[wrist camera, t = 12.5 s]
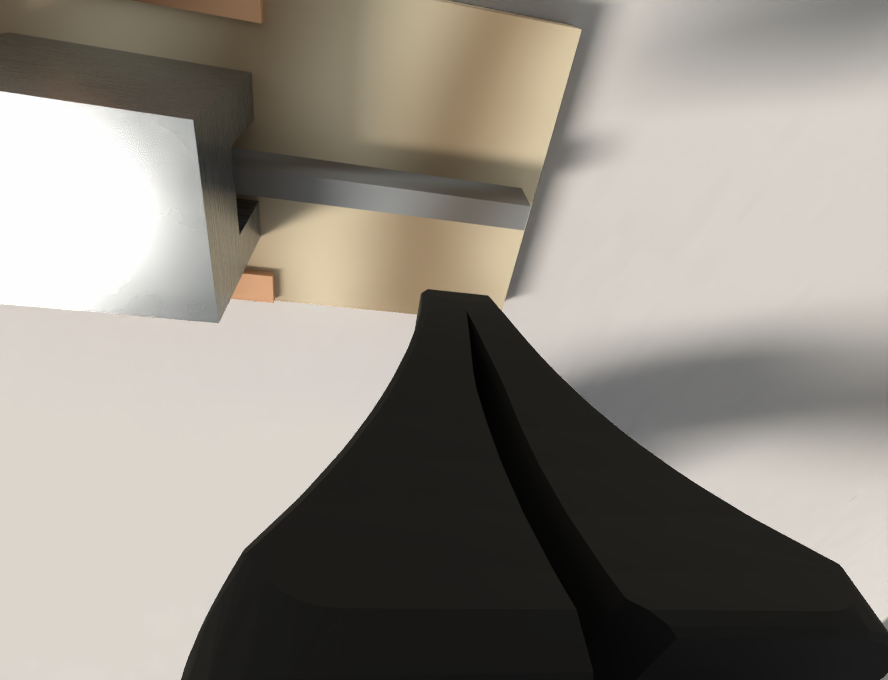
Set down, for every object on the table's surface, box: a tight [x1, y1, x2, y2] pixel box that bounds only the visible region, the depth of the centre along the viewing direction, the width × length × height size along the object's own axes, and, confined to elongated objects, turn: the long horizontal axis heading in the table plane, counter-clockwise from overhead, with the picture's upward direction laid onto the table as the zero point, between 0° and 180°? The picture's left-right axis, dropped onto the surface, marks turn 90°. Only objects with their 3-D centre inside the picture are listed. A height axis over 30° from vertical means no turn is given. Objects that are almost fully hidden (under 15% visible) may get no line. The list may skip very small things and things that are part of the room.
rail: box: [0, 0, 582, 314], centre depth 15 cm, size 18×10×4 cm, turn 80°
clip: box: [0, 32, 261, 323], centre depth 13 cm, size 6×5×5 cm
